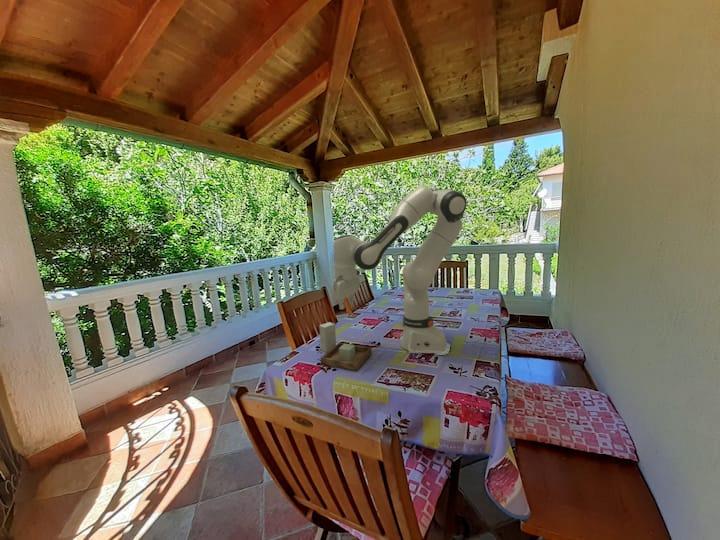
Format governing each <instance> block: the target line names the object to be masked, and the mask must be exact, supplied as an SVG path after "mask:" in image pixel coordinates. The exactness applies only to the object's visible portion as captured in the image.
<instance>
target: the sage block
mask: <svg viewBox="0 0 720 540" xmlns="http://www.w3.org/2000/svg"><path fill="white" fill-rule="evenodd" d="M349 344H350V343H345V344H343V345H342V346H341V347H340V348H339V360H344V361H349V362H350V361H351V360H352V359H353V358H354V357H355V344H351V345H349Z"/></svg>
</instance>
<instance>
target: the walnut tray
mask: <svg viewBox="0 0 720 540" xmlns="http://www.w3.org/2000/svg"><path fill="white" fill-rule="evenodd" d="M343 344H346V343H343V342H338V343H336V346H334V347H333V348H332V349H331V350H330V351H328V352H325V353H324V354H323V355H322V356H321V357H320V365H322V366H328V367H331V368H335V369H340V368H341V370H346V371H352V372H356V373H357V372H358V370H360V368H361V367H362V366H363V365H364V364H365V363H366V361H367V360H369V358H370V357H371V356H372V355H373V354H372V353H373V352H372V351H373V350H372V349H373V348H372V347H368V346H363V345H362V346H361V345H355V344H354V345H355V357H354V358H353V359H352V360H351V361H350V362H349V361H344V360H339V348H340V347H341V346H342V345H343ZM348 344H349V345H352V343H351V344H350V343H348Z"/></svg>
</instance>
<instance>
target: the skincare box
mask: <svg viewBox="0 0 720 540" xmlns="http://www.w3.org/2000/svg"><path fill="white" fill-rule="evenodd" d="M318 328H319V338H320V339H319V342H320V351H322V352H324V353H327V352H328V351H330V350H331V349H332V348H333V347H334V346H336V345H337V340H336V339H337V337H336V335H337V334H336V323H333V322H331V321H329V322H328V321H327V322H326V323H322V324H319V327H318Z"/></svg>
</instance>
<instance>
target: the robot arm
mask: <svg viewBox="0 0 720 540" xmlns="http://www.w3.org/2000/svg"><path fill="white" fill-rule="evenodd" d="M467 204H468V203H467V198H466V196H465V195H464V194H463V193H461V192H460V191H457V190H452V189H446V188H445V189H440V188H439V189H433V190H432V189H431V188H429V187H427V186H424V185H421V186H418V187H416V188H415V189H413V190H412V191H411V192H409V193H408V194H407V195H406V196H405V197H404V198H402V199H401V200H400V201H399V202H398V204H396V206H394V208H393V210H392V211H391V212H390V213H391V214H390V218H389V221H388V223H387V225H386V226H384V228H383V229H382V230H381V231H380V232H379V233H378V234H377V235H376V236H375V237H374V238H373V239H372V240H371V241H365V240H362V239H359V238H357V237H355V236H353V235H352V234H345V235H341V236H338V237H336V238H335V240H334V241H333V258H334V280H333V282H331V283H332V284H331V300H332V301H335V302H337V304H338V306H339V310H344V309H345V308H346V305H345V304H344V299H346V298H348V297H349V299H348V303H349V304H353V303H355V296H356V293H357V292H358V291H359V290H360V283H361V282H360V279H361V278H360V275H361V270H360V269H362V270H363V271H371V270H373V269H375V268H376V267H377V266H379V265H380V262H381V259H382V257H383V255H384V253H385V252H386V251H387V249H389V247H391V246H392V245H393V243H394V242H395V241H396V240H398V238H400V236H401V235H402V234H404V233H405V232H407V231H408V230H410V229H411V228H412V227H414V226H415V225H416V224H418V222H419V221H421V219H422V218H424V216H425V215H427V214H428V213H430V214H433V215H436V216H437V219H436V221H435V222H436V223H434V224H435V225H434V226H433V227H432V229H431V230H430V232H429V233H428V235H427V236H426V238H425V239H424V240H423V242H422V243H421V245H420V247H419V249H418V252H417V254H416V256H415V258H414V259H413V260H410V261H408V262H407V263H405V264H404V266H403V268H402V284H403V285H402V287H403V299H404V300H403V301H404V302H403V304H404V305H403V309H404V311H403V312H404V313H403V317H402V327H403V332H402V333H403V334H402V339H401V342H400V346H401V348H403V350H406V351H407V350H408V351H409V352H410V353H409V352H408V351H407V352H408V353H409V354H411V353H435V354H441V353H442V352H444V351H445V350H446V348H447V349H448V347H447V344H446V341H447V339H446V336H445V333H444V332H443V331H442V330H441V329H439V328H438V327H437V326H435V325H434V317H431V316H430V314H429V313H430V298H429V290H428V288H430V286H431V285H432V283H433V280H434V278H435V275H436V274H437V272H438V270H439V267H440V266H441V263H442V261H443V259H444V258H445V256H446V255H447V254H448V252H449V250H450V249H451V248H452V247H453V245H454V243H455V241H456V239H457V238H458V236H459V235H460V233H461V229H462V228H463V221H462V219H463V217H464V213H465V212H466V208H467ZM356 266H357V267H358V268H360V269H358V268H356ZM446 351H447V350H446ZM442 354H444V353H442Z"/></svg>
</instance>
